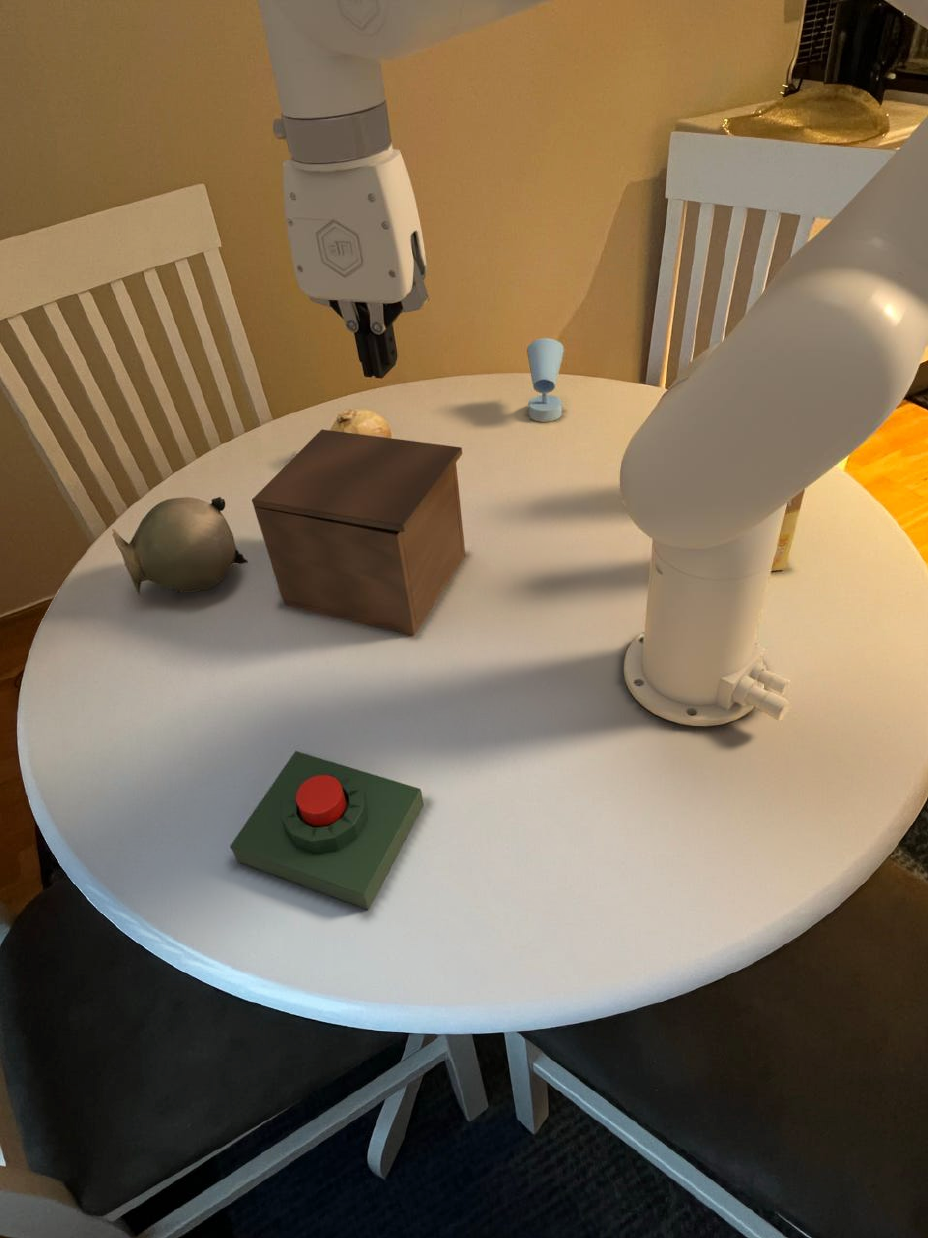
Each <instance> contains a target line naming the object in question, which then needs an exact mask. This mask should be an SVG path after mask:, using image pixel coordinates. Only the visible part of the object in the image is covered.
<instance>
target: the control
mask: <svg viewBox="0 0 928 1238" xmlns="http://www.w3.org/2000/svg"><path fill="white" fill-rule="evenodd" d="M319 775H328V776H332V777H334V778H336V779H337V780H338V781H339V782H340V784H341V786H342V789H343V792H344V796H345V799H346V808H345V811H344V813H343V814H342V816H341V817H340V818H339V819H338V820H337V821H335V822H333V823H332V824H329V825H326V826H313V825H310V824H309V823H307V822H306V821H305V820H304V819H303V818H302V815H301V813H300V810H299V807H298V805H297V802H296V795H297V791H298V789H299V788H300V786H301V785H302V784H303V783H304V782H305V781H307V780H308V779H310V778H312V777H315V776H319ZM423 807H424V799H423V792H422V789H421V788H418V787H415V786H413V785H408V784H405V783H402V782H399V781H397V780H393V779H389V778H387V777H383V776H379V775H376V774H373V773H369V772H366V771H363V770H360V769H356V768H354V767H350V766H347V765H343V764H340V763H337V762H333V761H331V760H328V759H325V758H324V759H323V758H320V757H317V756H314V755H311V754H308V753H305V752H301V751H297V750H295V751H294V752H293V753H292V755H291V757H290V758H289V760H288V761H287V762H286V764H285V766H284V767H283V768H282V769H281V771H280V773H279V774H278V776H277V777H276V778H275V780H274V781H273V783H272V784H271V786H270V787H269V789H268V790H267V791H266V793H265V795H264V796H263V798H262V799H261V801H260V802H259V803H258V805H257V806H256V807H255V809H254V810H253V812H252V813H251V815H250V816H249V818H248V819H247V821H246V822H245V824H244V825H243V827H242V828H241V829H240V831H239V832H238V834H237V835H236V837H235V839H233V841H232V843H231V844H230V846H229V848H230V850H231V852H232V854H233V856H234V858H235V860H236V862H238V863H240V864H243V865H245V866H246V865H247V866H249V867H250V868H253V869H257V870H260V871H262V872H264V873H268V874H271V875H273V876H276V877H279V878H282V879H284V880H287V881H289V882H292V883H295V884H297V885H299V886H303V887H306V888H308V889H310V890H314V891H316V892H319V893H322V894H324V895H327V896H330V897H333V898H336V899H339V900H341V901H344V902H346V903H349V904H351V905H354V906H358V907H360V908H363V909H366V910H369V909H370V908H371V907H372V904H373V902H374V901H375V899H376V897H377V895H378V893H379V891H380V890H381V887H382V885H383V883H384V882H385V879H386V878H387V875H388V874H389V872H390V870H391V868H392V866H393V864H394V862H395V860H396V858H397V856H398V855H399V853H400V851H401V849H402V848H403V845H404V843H405V841H406V840H407V837H408V836H409V833H410V832H411V830H412V828H413V826H414V825H415V822H416V820H417V819H418V817H419V815H420V812H421V811H422V809H423Z"/></svg>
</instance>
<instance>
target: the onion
mask: <svg viewBox="0 0 928 1238" xmlns="http://www.w3.org/2000/svg"><path fill="white" fill-rule="evenodd" d="M330 431H338V432H346V433H353V434H361V435H369V436H377V437H384V438H393V437H392V430H391V427H390V426H389V423H388V422H387V420H385V418H383V417H382V416H381V415H379V414H377V413H375V412H373V411H371V410H367V409H351V408H347V409H345V410H343V411H341V412H338V414H337V417H336V420H335V421H334V422H333V423H332V425H331V428H330Z"/></svg>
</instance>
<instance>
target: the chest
mask: <svg viewBox="0 0 928 1238" xmlns="http://www.w3.org/2000/svg"><path fill="white" fill-rule="evenodd" d="M458 477H459V476H458V467H457V462H456V463H455V465H454V466H453V467H452V469H451V470H450V471H449V473H448V474H447V475H446V477H445V478H444V479H443V481H442V482H441V483H440V485H439V486H438V487H437V489H436V490H435V492H434V493H433V494H432V496H431V497H430V498H429V500H428V501H427V502H426V504H425V505H424V506H423V508H422V509H421V510H420V512H419V513H418V514H417V516H416V517H415V518H414V520H413V521H412V523H411V524H410V525H409V527H408V528H407V529H406V531H405V532H400V531H394V530H389V529H383V528H377V527H371V526H365V525H360V524H354V523H348V522H342V521H336V520H331V519H325V518H319V517H313V516H307V515H302V514H296V513H290V512H284V511H278V510H273V509H267V508H261V507H255V506H254V505H253V509H254V512H255V516H256V519H257V522H258V526H259V528H260V532H261V534H262V538H263V542H264V545H265V548H266V551H267V554H268V558H269V562H270V565H271V568H272V571H273V574H274V577H275V581H276V584H277V587H278V590H279V594H280V597H281V599H282V602H283V603H282V604H283V605H284V606H288V607H292V608H296V609H300V610H305V611H308V612H314V613H318V614H321V615H326V616H330V617H334V618H338V619H343V620H347V621H352V622H355V623H359V624H364V625H368V626H372V627H376V628H380V629H385V630H389V631H393V632H398V633H402V634H405V635H410V636H416V634H417V632H418V631H419V629H420V627H421V626H422V624H423V622H424V621H425V620H426V618H427V616H428V615H429V613H430V611H431V610H432V608H433V607H434V605H435V604H436V602H437V601H438V599H439V597H440V596H441V594H442V593H443V591H444V590H445V588H446V587H447V585H448V583H449V582H450V580H451V579H452V578H453V576H454V574H455V573H456V571H457V569H458V568H459V566H460V565H461V563H462V561H463V560H464V559H465V557H466V546H465V537H464V527H463V517H462V506H461V497H460V487H459V478H458Z"/></svg>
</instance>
